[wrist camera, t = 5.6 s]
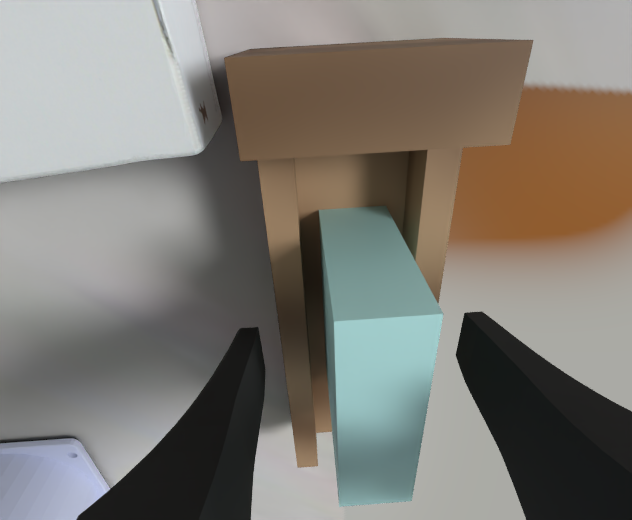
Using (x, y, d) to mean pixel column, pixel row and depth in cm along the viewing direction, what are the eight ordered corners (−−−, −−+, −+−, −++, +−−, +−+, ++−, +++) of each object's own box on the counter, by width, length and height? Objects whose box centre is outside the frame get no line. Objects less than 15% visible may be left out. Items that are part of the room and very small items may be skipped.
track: (401, 410, 21) (429, 506, 17) (295, 417, 21) (295, 516, 16) (444, 37, 11) (533, 40, 7) (250, 48, 11) (224, 58, 7)
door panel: (377, 363, 17) (411, 500, 12) (326, 367, 17) (339, 506, 12) (385, 205, 13) (443, 313, 8) (318, 209, 13) (333, 321, 8)
